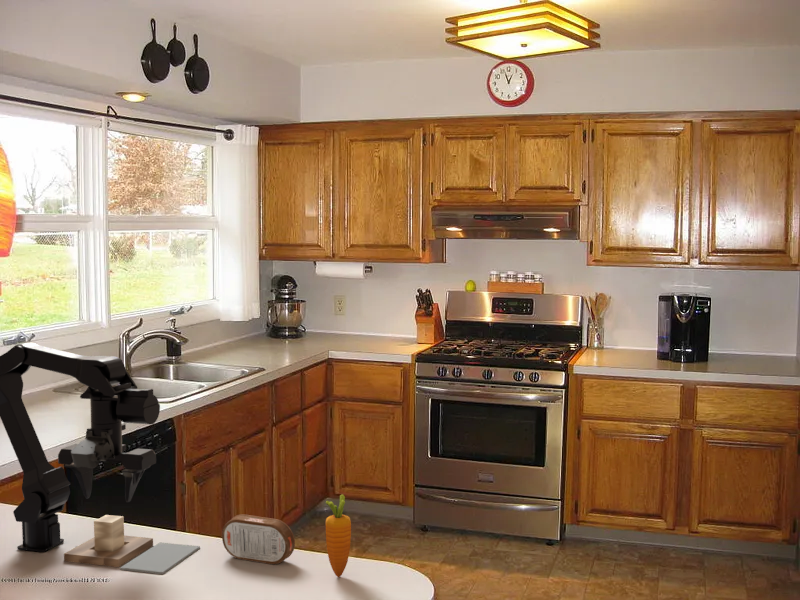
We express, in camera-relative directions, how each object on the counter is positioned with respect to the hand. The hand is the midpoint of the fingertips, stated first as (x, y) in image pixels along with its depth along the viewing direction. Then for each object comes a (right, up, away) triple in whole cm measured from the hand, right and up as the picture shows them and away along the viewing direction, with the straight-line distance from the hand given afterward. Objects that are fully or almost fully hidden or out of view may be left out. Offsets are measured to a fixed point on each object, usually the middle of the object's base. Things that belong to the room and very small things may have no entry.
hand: (107, 499), depth 167 cm
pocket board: (0, -11, +1) cm, 11 cm away
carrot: (+46, -12, -12) cm, 49 cm away
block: (0, -11, +1) cm, 11 cm away
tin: (+30, -11, -3) cm, 32 cm away
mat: (+11, -11, -2) cm, 16 cm away
